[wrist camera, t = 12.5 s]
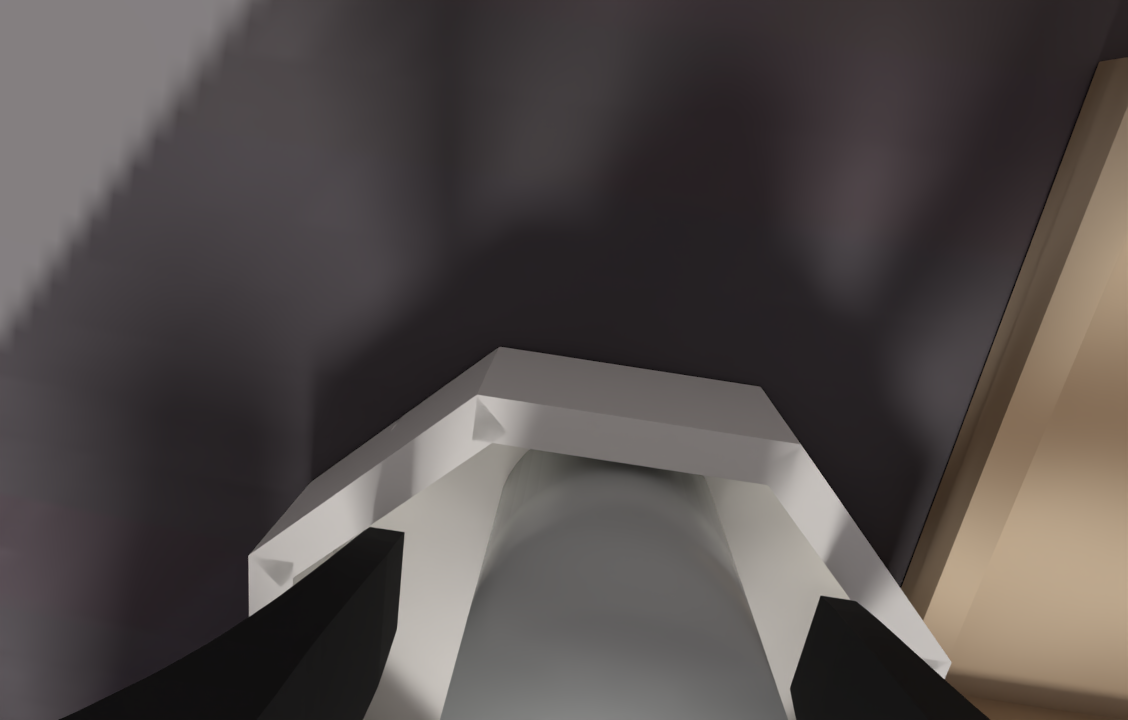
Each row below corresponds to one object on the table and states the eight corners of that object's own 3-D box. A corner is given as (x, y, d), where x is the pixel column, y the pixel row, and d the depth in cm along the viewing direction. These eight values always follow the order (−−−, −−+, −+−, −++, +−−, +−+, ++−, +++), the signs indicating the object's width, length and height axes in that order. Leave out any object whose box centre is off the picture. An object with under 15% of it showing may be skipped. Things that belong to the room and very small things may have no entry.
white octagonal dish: (783, 857, 17) (816, 980, 14) (302, 785, 17) (252, 895, 14) (944, 415, 13) (1029, 479, 10) (314, 317, 13) (246, 359, 10)
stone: (682, 629, 14) (732, 910, 9) (481, 587, 14) (414, 846, 9) (742, 448, 12) (845, 656, 7) (520, 400, 12) (468, 577, 7)
